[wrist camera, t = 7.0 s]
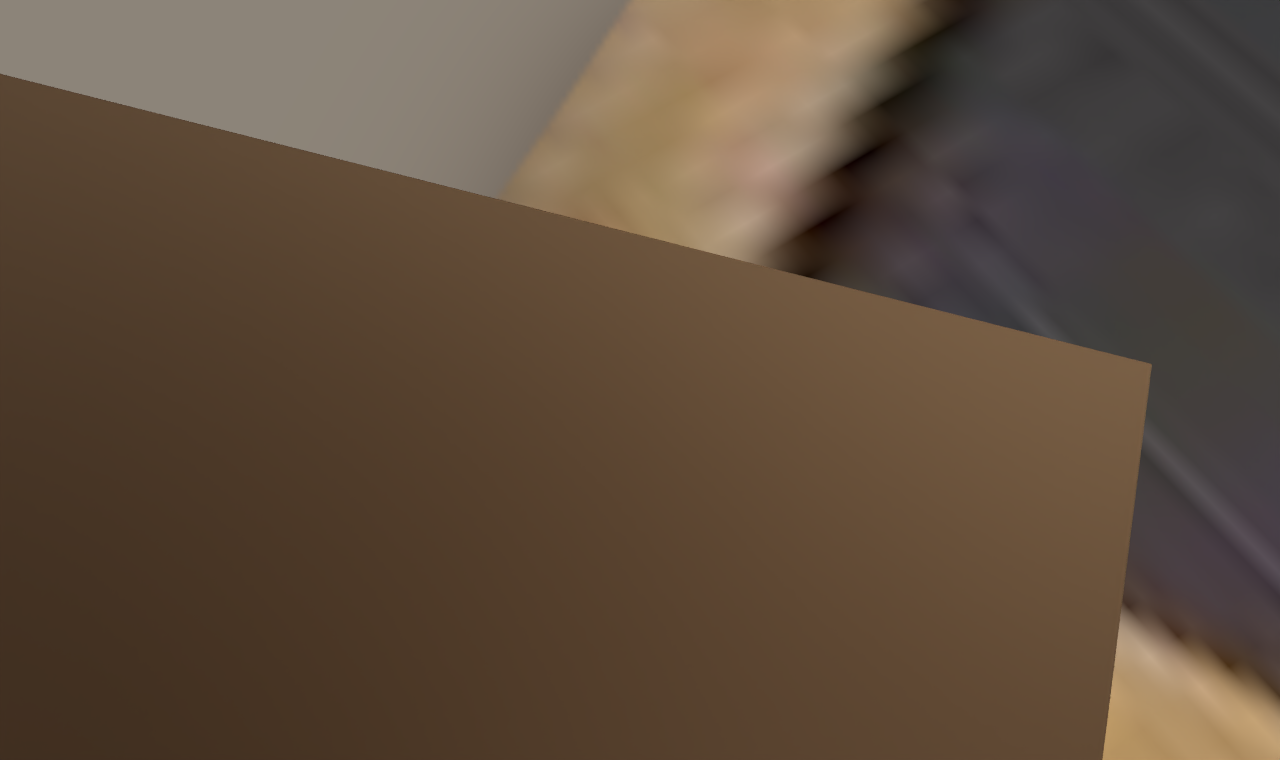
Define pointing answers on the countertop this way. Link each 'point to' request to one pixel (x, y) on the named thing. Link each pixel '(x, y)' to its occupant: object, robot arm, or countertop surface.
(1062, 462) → the walnut brick
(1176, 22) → the countertop surface
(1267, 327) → the countertop surface
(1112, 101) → the countertop surface
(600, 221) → the countertop surface
